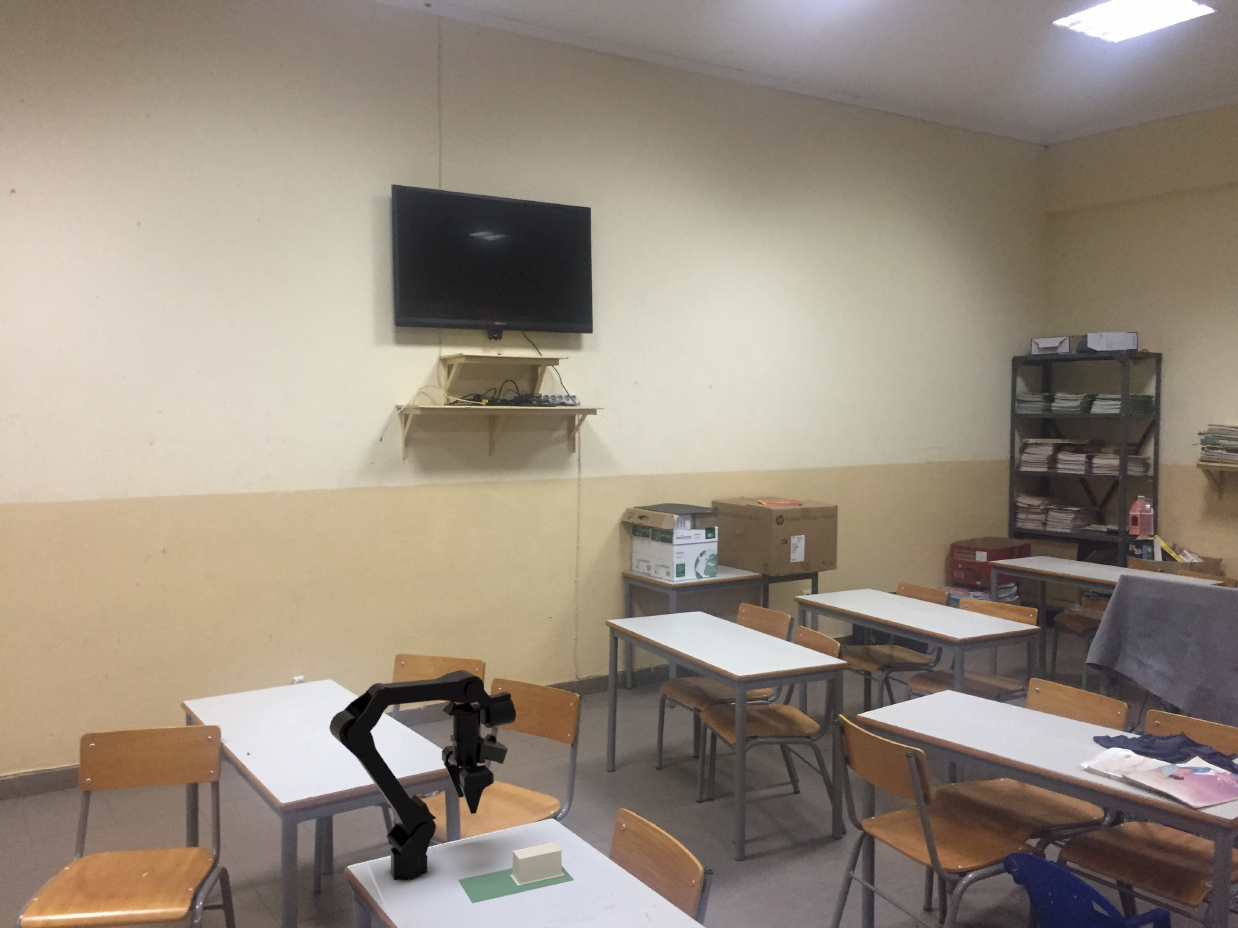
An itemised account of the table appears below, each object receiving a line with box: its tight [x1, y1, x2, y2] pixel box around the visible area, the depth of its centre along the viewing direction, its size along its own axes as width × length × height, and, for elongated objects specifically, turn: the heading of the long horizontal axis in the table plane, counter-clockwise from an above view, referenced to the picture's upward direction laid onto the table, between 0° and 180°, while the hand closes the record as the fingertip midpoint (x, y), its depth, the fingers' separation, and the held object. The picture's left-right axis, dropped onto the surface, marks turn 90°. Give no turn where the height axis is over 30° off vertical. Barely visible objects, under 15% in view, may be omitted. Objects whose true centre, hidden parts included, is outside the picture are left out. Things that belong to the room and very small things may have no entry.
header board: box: [457, 864, 575, 904], centre depth 185 cm, size 21×10×4 cm, turn 115°
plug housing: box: [512, 842, 562, 884], centre depth 187 cm, size 9×4×5 cm, turn 115°
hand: (467, 804), depth 194 cm, fingers open, 9 cm apart
